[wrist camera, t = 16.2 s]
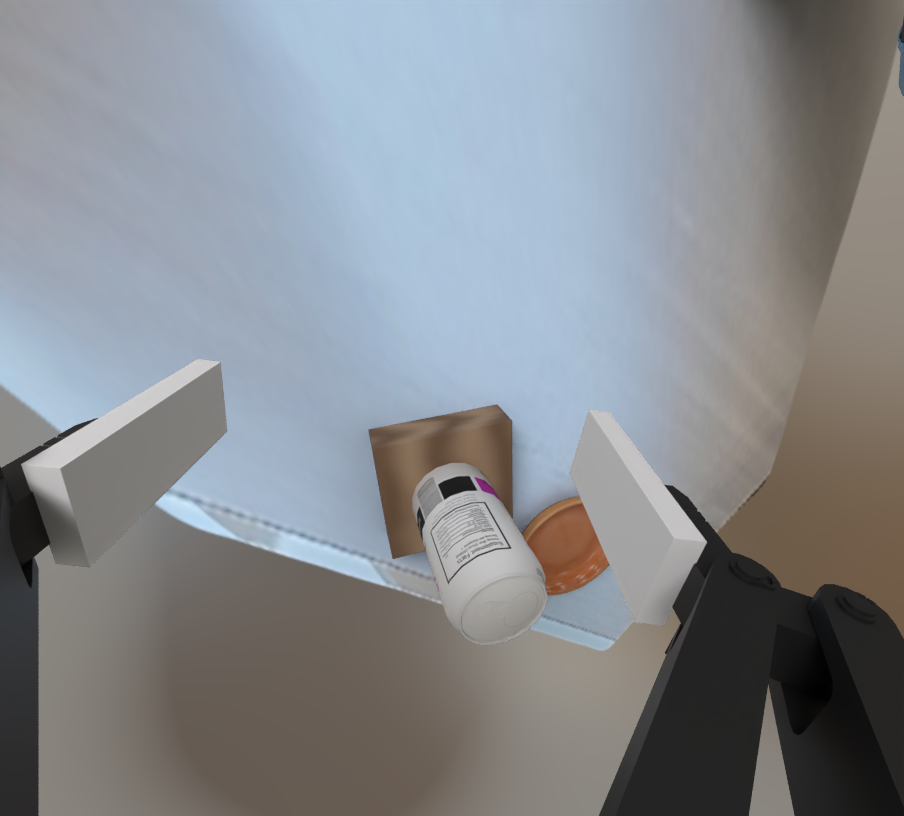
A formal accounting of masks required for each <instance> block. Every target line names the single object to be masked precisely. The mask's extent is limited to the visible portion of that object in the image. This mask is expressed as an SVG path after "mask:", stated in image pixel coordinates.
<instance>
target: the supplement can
mask: <svg viewBox="0 0 904 816" xmlns="http://www.w3.org/2000/svg"><path fill="white" fill-rule="evenodd" d="M412 507H413V512H414V516H415V519H416V522H417V525H418V528H419V531H420V534H421V538H422V541H423V544H424V547H425V550H426V553H427V556H428V560H429V563H430V566H431V569H432V572H433V575H434V578H435V582H436V585H437V588H438V591H439V594H440V597H441V600H442V604H443V607H444V610H445V613H446V615H447V617H448V619H449V620H450V622H451V624H452V625H453V626H454V627H455V628H457V629H458V630H459V631H460V632H462V634H463V635H464V637H465V638H466V639H468V640H469V641H471V642H473V643H475V644H482V645H493V644H499V643H504V642H506V641H508V640H511V639H513V638H516V637H518V636H519V635H521V634H522V633H524V632H525V631H527V630H528V629H530V628H531V627H532V625H533V624H534V623H535V622H536V621H537V620H538V619H539V618H540V616H541V614H542V613H543V611H544V609H545V607H546V602H547V592H546V590H545V574H544V571H543V569H542V566H541V564H540V562H539V561H538V559H537V558H536V556H535V554H534V553H533V551H532V550H531V548H530V546H529V545H528V543H527V542H526V540H525V538H524V537H523V535H522V534H521V532H520V531H519V529H518V527H517V526H516V524H515V523H514V521H513V519H512V518H511V516H510V515H509V513H508V511H507V510H506V508H505V507H504V505H503V503H502V502H501V500H500V499H499V497H498V495H497V494H496V492H495V491H494V489H493V487H492V486H491V484H490V483H489V481H488V479H487V478H486V476H485V475H484V474H483V473H482V472H481V471H480V470H479V469H478V468H477V467H475V466H472V465H469V464H466V463H449V464H446V465H443V466H440V467H437V468H435V469H434V470H432V471H431V472H430V473H428V474H427V475H425V476H424V477H423V479H422V480H421V481H420V482H419V484H418V485H417V486H416V488H415V491H414V494H413V497H412Z"/></svg>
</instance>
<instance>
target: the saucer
mask: <svg viewBox="0 0 904 816" xmlns="http://www.w3.org/2000/svg"><path fill="white" fill-rule="evenodd" d="M522 535H523V537H524V538H525V540H526V542H527V543H528V545H529V546H530V548H531V550H532V551H533V553H534V554H535V556H536V558H537V559H538V561H539V562H540V564H541V566H542V569H543V571H544V574H545V590H546V592H547V595H558V594H563V593H567V592H570V591H573V590H576V589H578V588H580V587H582V586H584V585H586V584H587V583H589V582H590V581H592V580H593V579H595V578H596V577H597V576H598V575H600V574H601V573H602V572H603V571H604V570H605V569H606V568H607V567H608V566H609V563H608V560H607V558H606V556H605V553H604V551H603V549H602V546H601V544H600V542H599V540H598V537H597V535H596V533H595V530H594V528H593V526H592V523H591V521H590V519H589V516H588V514H587V512H586V510H585V507H584V505H583V503H582V500H581V498H580V496H579V497H572V498H568V499H565V500H562V501H560V502H557V503H555V504H553V505H551V506H549V507H548V508H546V509H545V510H543V511H542V512H541V513H539V514H538V515H537V516H536V517H535V518H534V519H533V520H532V521H531V523H530V524H529V525H528V527H527V528H526V529H525V531H524V532H523V534H522Z"/></svg>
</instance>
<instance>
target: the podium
mask: <svg viewBox="0 0 904 816" xmlns="http://www.w3.org/2000/svg"><path fill="white" fill-rule="evenodd" d="M369 435H370V441H371V446H372V452H373V457H374V463H375V468H376V474H377V479H378V485H379V490H380V496H381V502H382V507H383V513H384V518H385V524H386V529H387V535H388V539H389V544H390V549H391V553H392V558H393V559H395V558H399V557H403V556H406V555H410V554H414V553H418V552H421V551H425V547H424V544H423V541H422V538H421V534H420V531H419V528H418V525H417V522H416V519H415V516H414V512H413V507H412V497H413V494H414V491H415V488H416V486H417V485H418V484H419V482H420V481H421V480H422V479H423V477H424V476H425V475H427V474H428V473H430V472H431V471H432V470H434V469H435V468H437V467H440V466H443V465H446V464H449V463H466V464H469V465H472V466H475V467H477V468H478V469H479V470H480V471H481V472H482V473H483V474H484V475H485V476H486V478H487V479H488V481H489V483H490V484H491V486H492V487H493V489H494V491H495V492H496V494H497V495H498V497H499V499H500V500H501V502H502V503H503V505H504V507H505V508H506V510H507V511H508V513H509V515H510V516H511V518H512V519H513V499H512V420H511V419H510V418H509V417H508V416H507V415H506V414H505V413H504V412H503V410H502V409H501V408H500V407H499V406H498V405H493V406H488V407H483V408H477V409H472V410H467V411H462V412H457V413H452V414H447V415H442V416H436V417H431V418H426V419H421V420H416V421H411V422H406V423H401V424H395V425H390V426H385V427H380V428H375V429H370V430H369Z"/></svg>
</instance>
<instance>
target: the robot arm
mask: <svg viewBox="0 0 904 816" xmlns="http://www.w3.org/2000/svg"><path fill="white" fill-rule="evenodd" d="M898 42H899V45H898V48H899V50H900V52H901V58H900V73H899V87H900V90H901V93H902V95H903V96H904V19H903V25H902V27H901V29H900V31H899V35H898ZM226 432H227V423H226V413H225V403H224V393H223V383H222V373H221V363H220V362H215V361H207V360H200V359H197V360H196V361H194V362H192V363H191V364H189V365H187V366H186V367H184V368H182V369H181V370H179V371H177V372H176V373H174V374H172V375H171V376H169V377H167V378H165V379H164V380H162V381H160V382H159V383H157V384H155V385H154V386H152V387H150V388H149V389H147V390H145V391H144V392H142V393H140V394H139V395H137V396H135V397H133V398H132V399H130V400H128V401H127V402H125V403H123V404H122V405H120V406H118V407H117V408H115V409H113V410H112V411H110V412H108V413H107V414H105V415H103V416H102V417H100V418H96V419H93V420H90V421H87V422H84V423H81V424H78V425H75V426H73V427H72V428H70V429H68V430H66V431H65V432H63V433H61V434H59V435H58V437H57V438H53V439H51V440H49V441H47V442H46V443H44V445H43V446H39V447H37V448H35V449H34V450H32V451H30V452H28V453H27V454H25V455H23V456H22V457H19V458H18V459H16V460H15V461H13V462H11V463H9V464H7V465H6V466H4V467H2V468H1V467H0V816H38V566H37V563H36V561H35V558H34V556H36V555H37V554H38V553H39V552H40V551H42V550H43V549H44V548H45V547H46V546H48V545H49V546H50V548H51V551H52V554H53V557H54V560H55V563H56V564H63V565H72V566H82V567H91V566H92V565H93V564H94V563H95V562H96V561H97V560H98V559H99V558H100V557H101V556H102V555H103V554H104V553H105V552H106V551H107V550H108V549H109V548H110V547H111V546H112V545H113V544H114V543H115V542H116V541H117V540H118V539H119V538H120V537H121V536H122V535H123V534H124V533H125V532H126V531H127V530H128V529H129V528H130V527H131V526H132V525H133V524H134V523H135V522H136V521H137V520H138V519H139V518H140V517H141V516H142V515H143V514H145V512H146V511H147V510H149V509H150V508H151V507H152V506H153V505H154V504H155V503H156V502H157V501H158V500H159V499H160V498H161V497H162V496H163V495H164V494H165V493H166V492H167V491H168V490H169V489H170V488H171V487H172V486H173V485H174V484H175V483H176V482H177V481H178V480H179V479H180V478H181V477H182V476H183V475H184V474H185V473H186V472H187V471H188V470H189V469H190V468H191V467H192V466H193V465H194V464H195V463H196V462H197V461H198V460H199V459H200V458H201V457H202V456H203V455H204V454H205V453H206V452H207V451H208V450H209V449H210V448H211V447H212V446H213V445H214V444H215V443H216V442H217V441H218V440H219V439H220V438H221V437H222V436H223V435H224V434H225V433H226ZM570 475H571V477H572V479H573V482H574V484H575V486H576V489H577V491H578V493H579V496H580V498H581V500H582V503H583V505H584V507H585V510H586V512H587V514H588V516H589V519H590V521H591V523H592V526H593V528H594V530H595V533H596V535H597V537H598V540H599V542H600V544H601V546H602V549H603V551H604V553H605V556H606V558H607V560H608V563H609V565H610V567H611V570H612V572H613V574H614V576H615V579H616V581H617V583H618V586H619V588H620V590H621V593H622V595H623V597H624V600H625V602H626V604H627V606H628V609H629V611H630V613H631V616H632V618H633V620H634V622H635V623H642V624H652V625H661V626H664V625H665V623H666V621H667V619H668V617H669V615H670V613H671V611H672V609H674V611H675V613H676V615H677V616H678V618H679V620H680V622H681V624H680V626H679V627H678V629H677V631H676V633H675V635H674V637H673V639H672V640H671V643H670V644H669V646H668V648H667V650H666V652H665V654H667V655H666V657H665V660H664V662H663V664H662V667H661V669H660V671H659V674H658V676H657V678H656V681H655V683H654V686H653V688H652V691H651V693H650V695H649V698H648V700H647V702H646V705H645V707H644V710H643V712H642V714H641V717H640V719H639V721H638V724H637V726H636V729H635V731H634V733H633V736H632V738H631V740H630V743H629V745H628V748H627V750H626V752H625V755H624V757H623V759H622V762H621V764H620V767H619V769H618V772H617V774H616V776H615V779H614V781H613V784H612V786H611V788H610V790H609V793H608V795H607V798H606V800H605V803H604V805H603V808H602V810H601V812H600V814H599V816H749V809H750V803H751V796H752V789H753V782H754V776H755V769H756V762H757V755H758V748H759V742H760V735H761V728H762V722H763V715H764V708H765V701H766V695H767V688H768V684H769V689H770V693H771V699H772V704H773V709H774V714H775V719H776V724H777V729H778V734H779V739H780V745H781V750H782V755H783V759H784V765H785V770H786V774H787V780H788V785H789V790H790V795H791V799H792V805H793V810H794V815H795V816H904V639H903V637H902V635H901V634H900V631H899V630H898V628H897V626H896V624H895V623H894V622H893V620H892V619H891V618H890V617H889V615H888V614H887V613H886V612H885V611H883V610H882V609H881V608H880V607H878V606H877V605H876V603H874V602H873V601H872V600H870V599H868V598H866V597H865V596H864V595H862V594H860V593H857V592H854V591H852V590H850V589H848V588H845V587H841V586H838V585H834V584H824V585H823V586H821V587H820V588H819V589H818V591H817V592H816V594H815V595H814V596H813V598H812V597H809V596H806V595H803V594H800V593H797V592H794V591H791V590H788V589H785V588H782V587H781V585H780V583H779V581H778V580H777V579H776V577H775V576H774V575H773V574H772V573H771V572H770V571H768V570H767V569H766V568H765V567H764V566H762V565H761V564H759V563H757V562H756V561H754V560H752V559H750V558H748V557H745V556H743V555H740V554H736V553H732V552H731V551H730V550H729V548H728V547H727V546H726V544H725V543H724V542H723V541H722V539H721V538H720V537H719V536H718V534H717V533H716V532H715V531H714V529H713V528H712V527H711V526H710V524H709V523H708V522H705V518H704V517H703V516H702V514H701V513H700V512H697V508H696V507H695V506H694V505H693V503H692V502H691V501H690V500H689V498H688V497H687V496H685V495H684V494H683V493H681V492H680V491H679V490H677V489H676V488H675V487H673V486H669V485H664V484H663V483H662V482H661V480H660V479H659V478H658V476H657V475H656V474H655V472H654V471H653V470H652V468H651V467H650V466H649V464H648V463H647V462H646V460H645V459H644V458H643V456H642V455H641V454H640V452H639V451H638V450H637V448H636V447H635V446H634V444H633V443H632V442H631V440H630V439H629V438H628V436H627V435H626V434H625V433H624V431H623V430H622V429H621V427H620V426H619V425H618V423H617V422H616V421H615V419H614V418H613V417H612V415H611V414H610V413H609V412H603V411H595V410H589V411H588V414H587V417H586V421H585V424H584V427H583V430H582V434H581V437H580V440H579V443H578V447H577V450H576V453H575V457H574V460H573V463H572V466H571V470H570Z"/></svg>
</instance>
